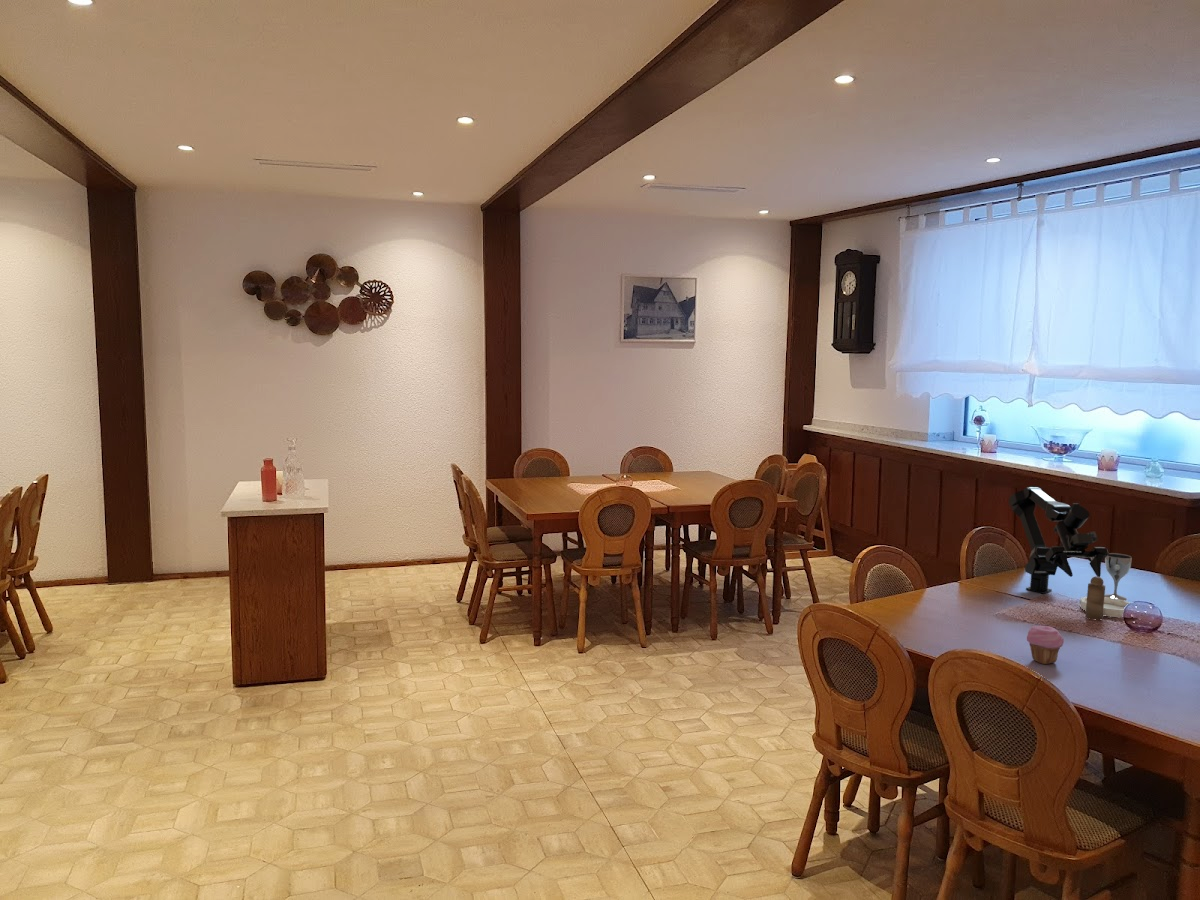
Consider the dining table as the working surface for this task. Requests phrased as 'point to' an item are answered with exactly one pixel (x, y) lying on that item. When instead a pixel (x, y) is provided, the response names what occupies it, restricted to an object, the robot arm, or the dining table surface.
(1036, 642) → the cupcake
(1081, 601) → the dish
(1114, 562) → the wine glass
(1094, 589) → the pepper mill
